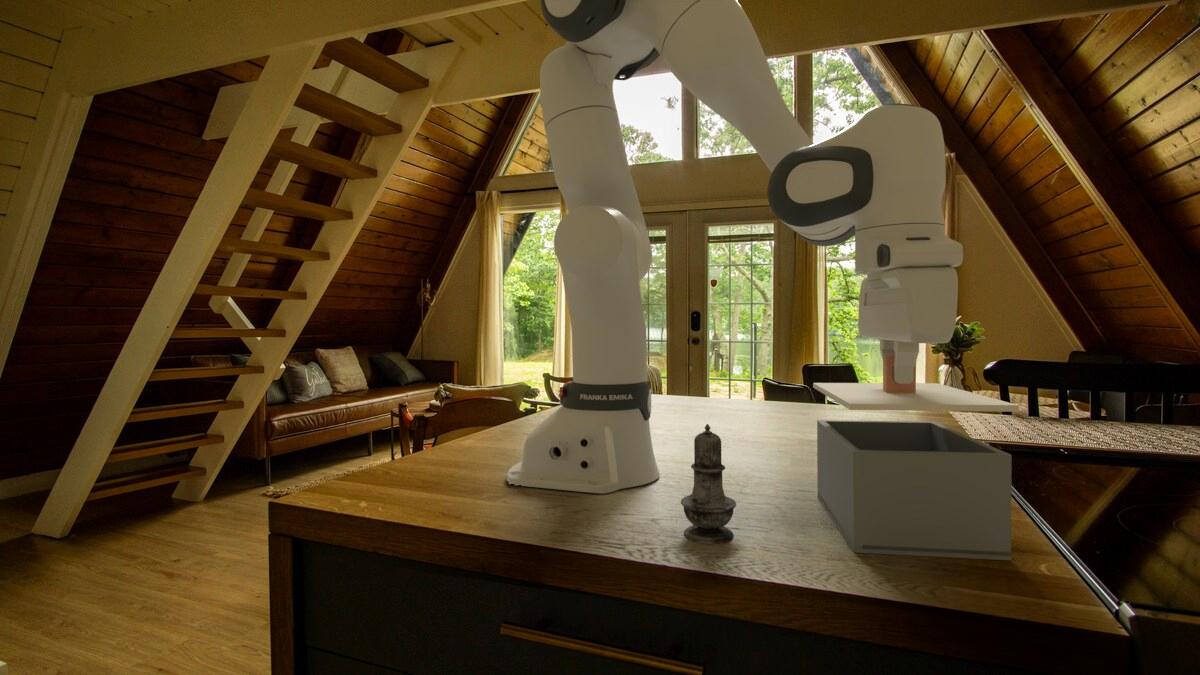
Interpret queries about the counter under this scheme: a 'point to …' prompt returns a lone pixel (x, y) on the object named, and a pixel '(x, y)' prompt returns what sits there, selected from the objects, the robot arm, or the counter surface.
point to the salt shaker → (708, 494)
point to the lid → (909, 395)
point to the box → (914, 489)
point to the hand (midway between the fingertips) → (898, 381)
